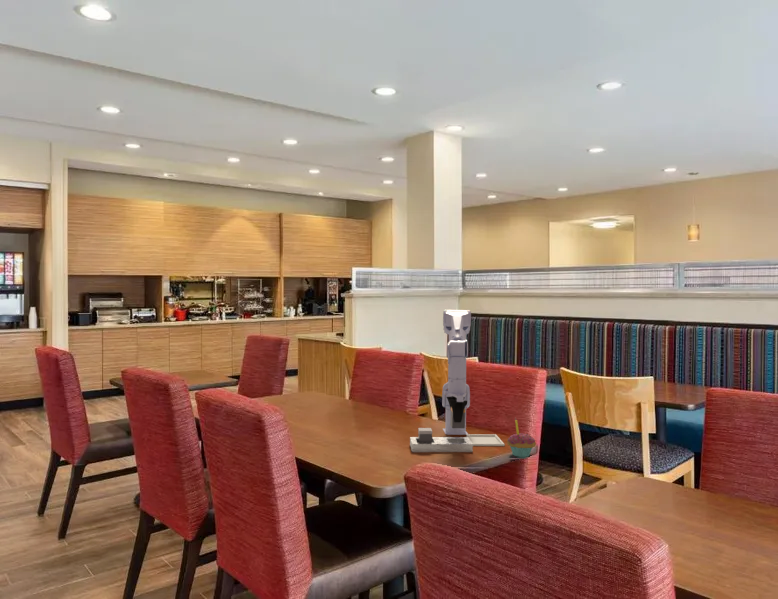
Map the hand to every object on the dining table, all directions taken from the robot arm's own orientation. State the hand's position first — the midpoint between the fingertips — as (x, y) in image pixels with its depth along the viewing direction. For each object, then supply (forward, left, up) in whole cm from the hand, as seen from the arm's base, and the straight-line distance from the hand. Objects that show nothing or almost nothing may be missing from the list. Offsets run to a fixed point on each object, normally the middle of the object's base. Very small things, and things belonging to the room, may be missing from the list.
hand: (456, 420), depth 195 cm
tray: (-9, +11, -9) cm, 17 cm away
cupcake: (+8, +19, -10) cm, 23 cm away
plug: (0, 0, -2) cm, 2 cm away
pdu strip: (0, -5, -9) cm, 11 cm away
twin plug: (0, -10, -9) cm, 13 cm away
